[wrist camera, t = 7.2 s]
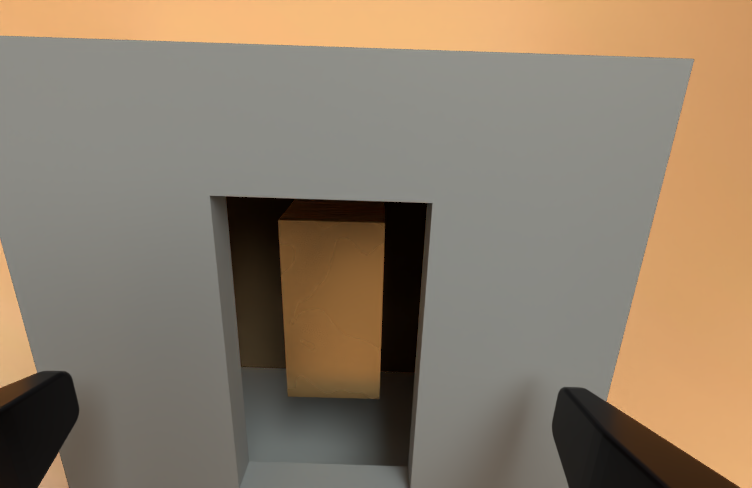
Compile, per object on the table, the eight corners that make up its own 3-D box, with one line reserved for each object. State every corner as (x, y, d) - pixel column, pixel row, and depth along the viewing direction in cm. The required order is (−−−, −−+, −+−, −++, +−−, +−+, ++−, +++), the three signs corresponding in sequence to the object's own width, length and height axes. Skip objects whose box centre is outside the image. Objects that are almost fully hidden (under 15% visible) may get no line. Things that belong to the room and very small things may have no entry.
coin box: (493, 391, 17) (562, 573, 11) (199, 382, 17) (88, 558, 11) (539, 76, 13) (694, 58, 7) (159, 64, 13) (-56, 34, 7)
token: (379, 311, 16) (379, 399, 12) (314, 309, 16) (287, 396, 12) (383, 181, 15) (384, 223, 10) (311, 179, 15) (277, 220, 10)
